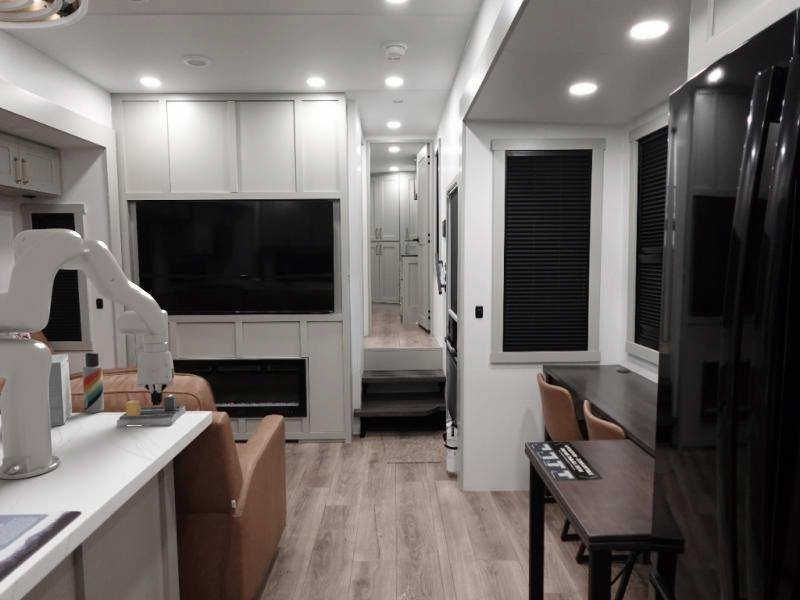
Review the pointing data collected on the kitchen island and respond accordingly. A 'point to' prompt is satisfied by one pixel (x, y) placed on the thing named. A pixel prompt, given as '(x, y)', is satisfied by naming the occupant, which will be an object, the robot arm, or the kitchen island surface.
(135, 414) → the fader
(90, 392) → the lotion bottle
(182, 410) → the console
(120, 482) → the kitchen island surface
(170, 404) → the fader
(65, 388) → the hard drive box
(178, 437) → the kitchen island surface
